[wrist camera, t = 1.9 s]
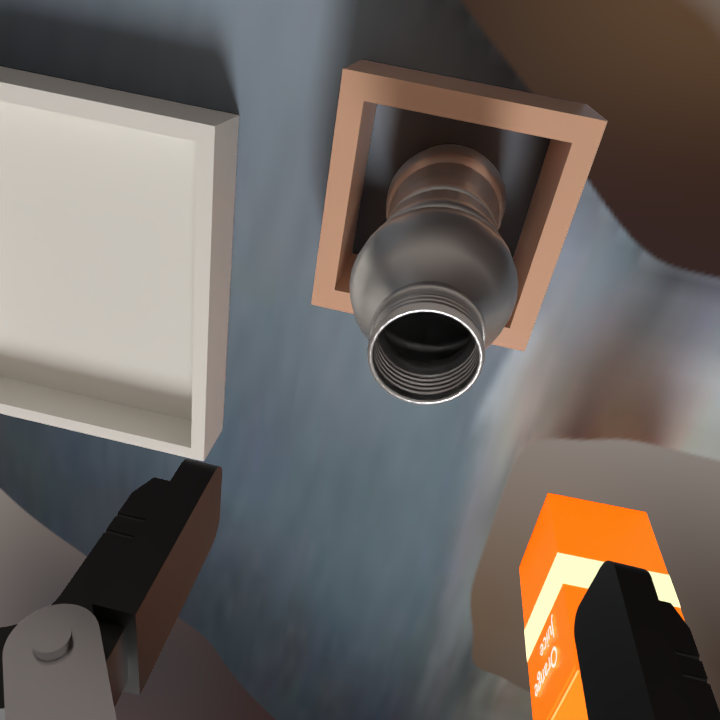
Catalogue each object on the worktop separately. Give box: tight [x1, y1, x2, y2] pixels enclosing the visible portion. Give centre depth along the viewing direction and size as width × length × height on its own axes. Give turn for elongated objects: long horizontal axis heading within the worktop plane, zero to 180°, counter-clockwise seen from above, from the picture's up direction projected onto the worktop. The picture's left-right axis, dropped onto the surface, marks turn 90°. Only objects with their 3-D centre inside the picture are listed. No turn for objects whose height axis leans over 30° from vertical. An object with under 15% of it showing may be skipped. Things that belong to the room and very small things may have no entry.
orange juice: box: [519, 493, 685, 720], centre depth 40 cm, size 8×9×20 cm
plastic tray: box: [0, 66, 239, 461], centre depth 40 cm, size 24×20×4 cm
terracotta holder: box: [311, 60, 607, 351], centre depth 33 cm, size 12×12×6 cm
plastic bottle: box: [349, 144, 518, 405], centre depth 27 cm, size 6×7×20 cm
